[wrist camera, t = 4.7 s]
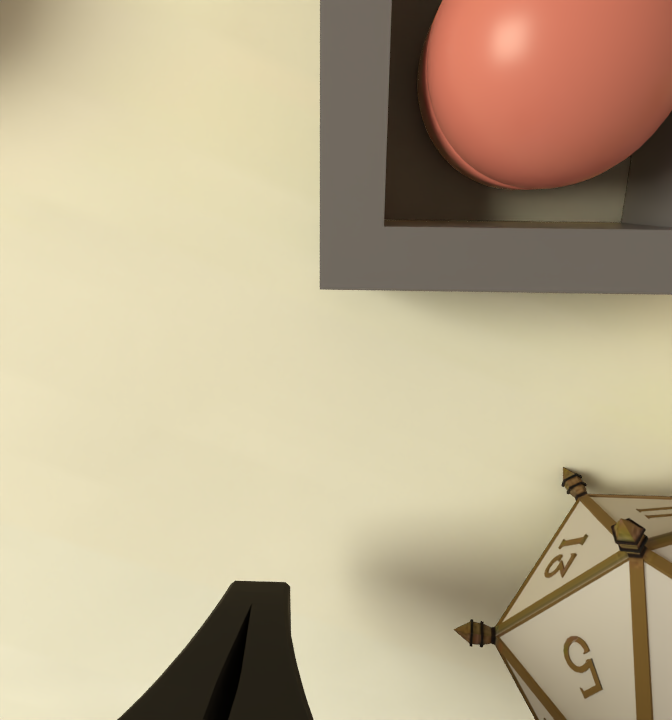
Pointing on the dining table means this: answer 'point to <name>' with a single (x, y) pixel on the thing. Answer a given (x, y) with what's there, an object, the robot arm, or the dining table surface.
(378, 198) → the dome housing
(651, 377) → the dining table surface
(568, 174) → the salmon ball
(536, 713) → the game die
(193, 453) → the dining table surface
